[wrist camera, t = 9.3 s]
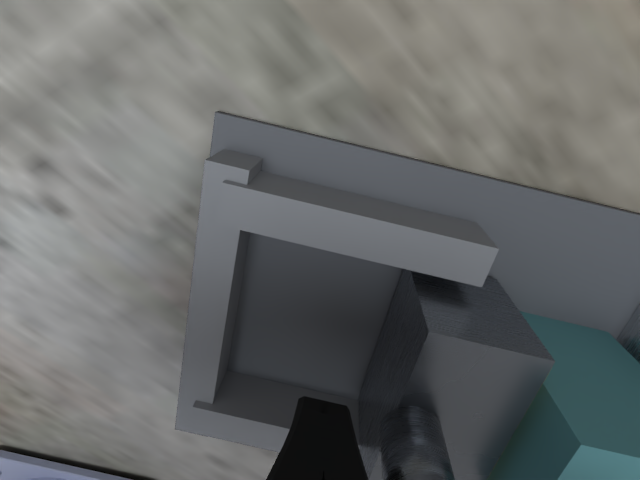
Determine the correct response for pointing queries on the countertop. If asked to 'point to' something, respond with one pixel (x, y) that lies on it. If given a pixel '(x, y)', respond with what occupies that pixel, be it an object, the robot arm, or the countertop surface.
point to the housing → (578, 411)
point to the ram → (447, 381)
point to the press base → (365, 268)
